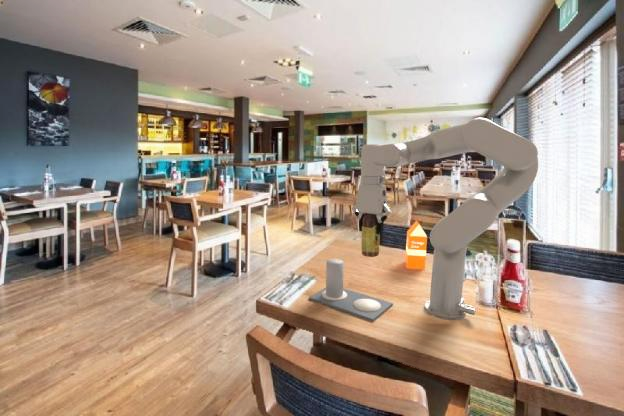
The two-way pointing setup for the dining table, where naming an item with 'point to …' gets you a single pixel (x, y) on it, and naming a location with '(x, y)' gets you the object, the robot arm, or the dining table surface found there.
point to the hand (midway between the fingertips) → (370, 231)
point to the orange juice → (416, 247)
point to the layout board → (348, 295)
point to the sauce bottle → (370, 236)
